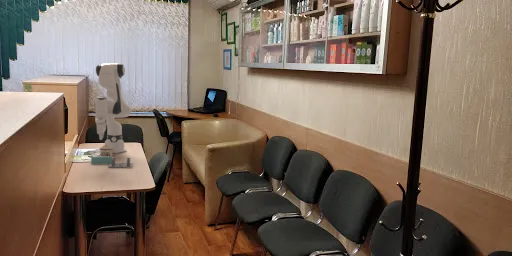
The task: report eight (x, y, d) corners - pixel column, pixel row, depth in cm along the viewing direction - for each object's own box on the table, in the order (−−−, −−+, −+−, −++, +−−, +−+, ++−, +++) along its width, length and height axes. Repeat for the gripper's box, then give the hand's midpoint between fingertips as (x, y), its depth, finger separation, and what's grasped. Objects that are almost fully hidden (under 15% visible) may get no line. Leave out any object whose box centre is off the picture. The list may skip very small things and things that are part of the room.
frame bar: (91, 163, 299) (91, 156, 298) (112, 163, 302) (112, 156, 301) (91, 163, 296) (91, 157, 296) (111, 163, 300) (111, 157, 299)
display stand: (109, 164, 297) (110, 156, 296) (133, 164, 301) (133, 156, 300) (108, 167, 287) (108, 160, 286) (132, 167, 291) (132, 160, 290)
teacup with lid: (98, 160, 306) (98, 145, 304) (100, 158, 315) (100, 143, 313) (115, 160, 308) (115, 145, 307) (117, 158, 317) (117, 143, 315)
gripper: (99, 117, 304) (99, 136, 306) (95, 121, 284) (95, 141, 286) (108, 117, 305) (108, 136, 307) (104, 121, 286) (104, 141, 288)
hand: (101, 138), depth 296 cm, fingers open, 8 cm apart
